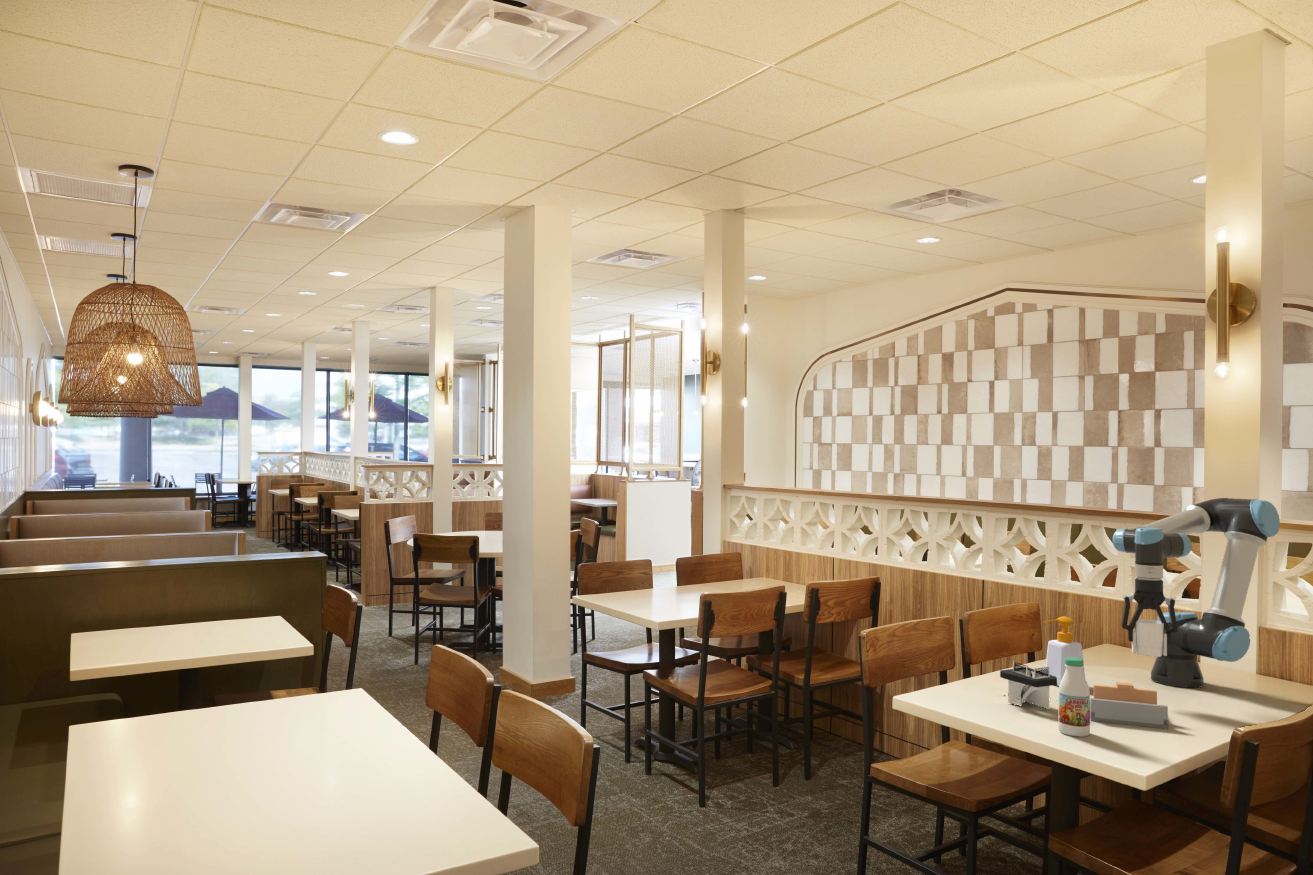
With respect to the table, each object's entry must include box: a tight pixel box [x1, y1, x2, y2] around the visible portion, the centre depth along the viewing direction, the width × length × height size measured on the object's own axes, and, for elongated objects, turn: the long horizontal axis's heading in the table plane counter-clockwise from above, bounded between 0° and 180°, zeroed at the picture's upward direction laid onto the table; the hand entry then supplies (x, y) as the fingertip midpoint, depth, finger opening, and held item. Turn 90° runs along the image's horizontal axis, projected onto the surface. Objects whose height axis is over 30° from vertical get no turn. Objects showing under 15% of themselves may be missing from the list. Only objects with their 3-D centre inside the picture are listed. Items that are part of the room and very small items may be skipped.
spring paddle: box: [1093, 681, 1158, 705], centre depth 251 cm, size 16×3×8 cm, turn 69°
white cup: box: [1134, 618, 1164, 658], centre depth 266 cm, size 8×8×10 cm
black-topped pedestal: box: [999, 660, 1057, 710], centre depth 260 cm, size 28×26×13 cm
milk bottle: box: [1057, 657, 1091, 737], centre depth 236 cm, size 8×8×20 cm
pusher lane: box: [1090, 697, 1169, 730], centre depth 252 cm, size 19×19×6 cm
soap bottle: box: [1042, 615, 1086, 687], centre depth 285 cm, size 10×14×22 cm
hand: (1149, 653), depth 266 cm, fingers closed on white cup, 7 cm apart
